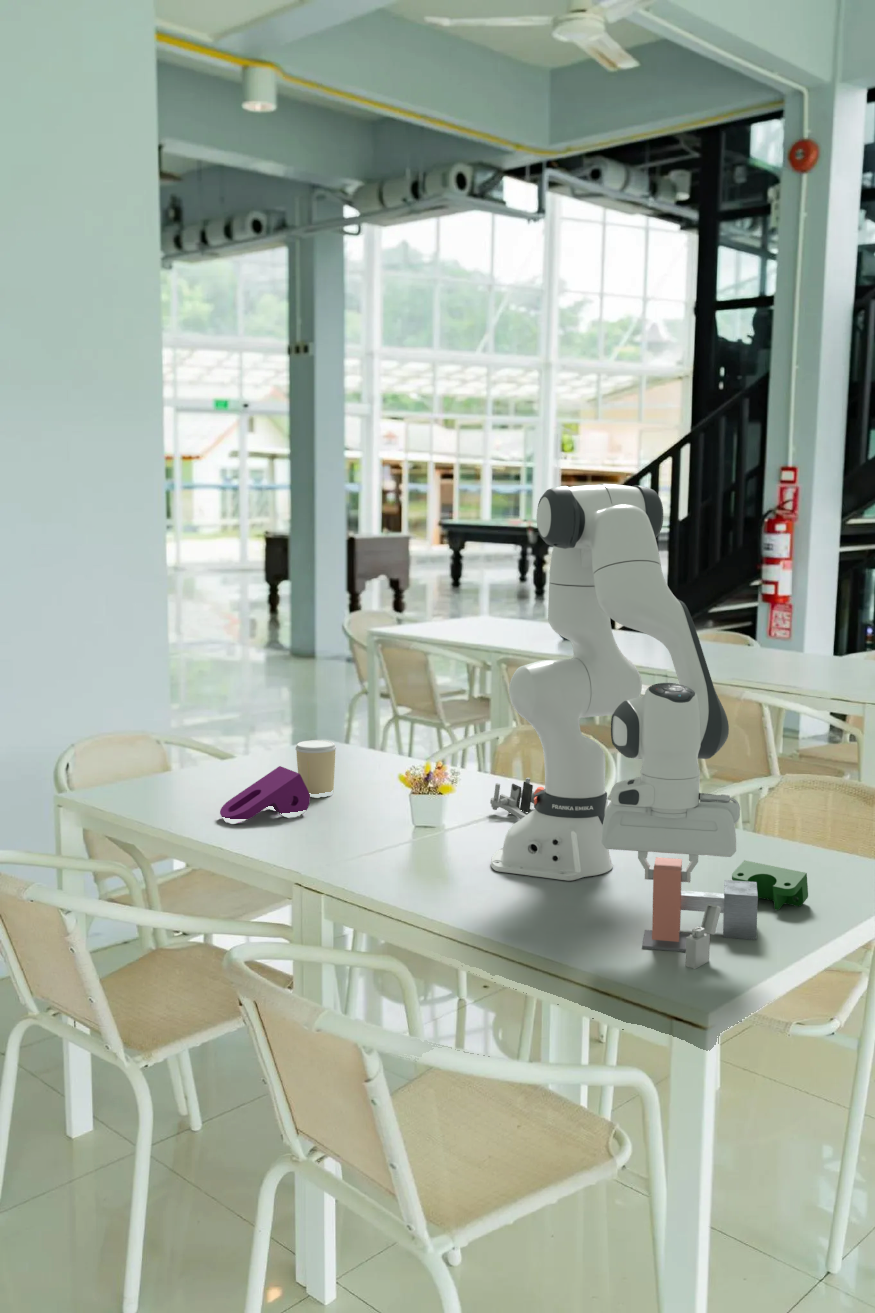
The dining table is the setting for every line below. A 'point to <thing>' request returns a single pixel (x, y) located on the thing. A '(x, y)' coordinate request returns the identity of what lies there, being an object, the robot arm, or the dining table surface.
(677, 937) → the tall salmon pink brick
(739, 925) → the vise
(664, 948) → the mat
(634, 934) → the dining table surface
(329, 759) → the coffee cup
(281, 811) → the mounting bracket
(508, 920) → the dining table surface
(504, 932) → the dining table surface
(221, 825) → the dining table surface
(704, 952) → the lighter
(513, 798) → the bike brake
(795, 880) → the clamp
